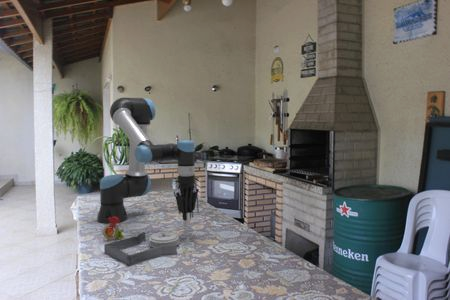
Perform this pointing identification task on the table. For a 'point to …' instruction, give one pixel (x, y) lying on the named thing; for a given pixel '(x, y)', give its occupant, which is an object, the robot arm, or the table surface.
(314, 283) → the table surface
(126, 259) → the steel bracket
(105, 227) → the bird rattle
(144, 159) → the robot arm
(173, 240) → the grey pulley wheel
